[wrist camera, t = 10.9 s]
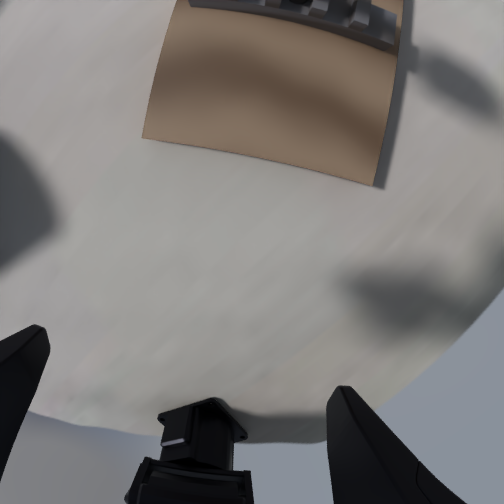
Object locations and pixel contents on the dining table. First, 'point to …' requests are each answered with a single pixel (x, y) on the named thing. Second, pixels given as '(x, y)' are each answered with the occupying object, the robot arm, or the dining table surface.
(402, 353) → the dining table surface
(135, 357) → the dining table surface
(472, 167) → the dining table surface
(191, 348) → the dining table surface
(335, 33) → the wooden base post stand
